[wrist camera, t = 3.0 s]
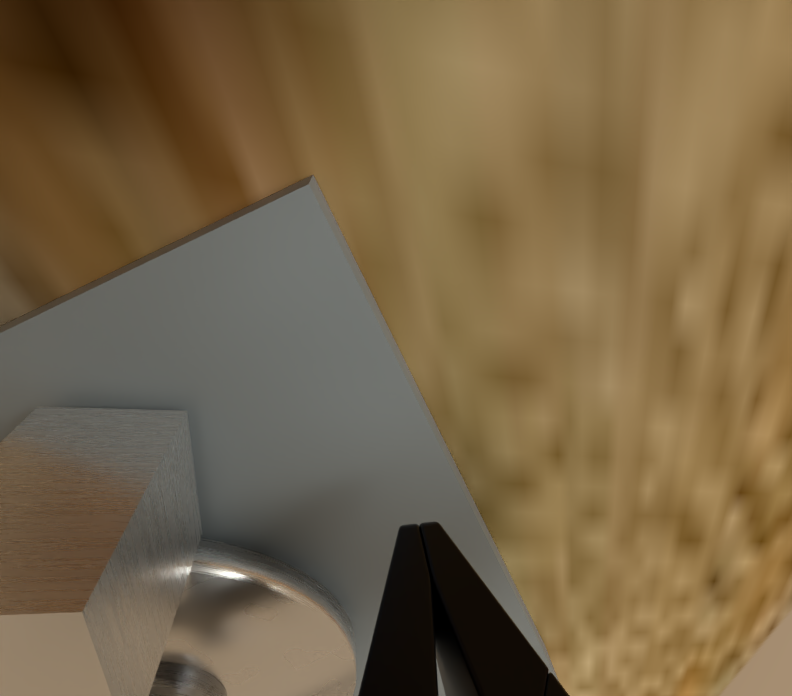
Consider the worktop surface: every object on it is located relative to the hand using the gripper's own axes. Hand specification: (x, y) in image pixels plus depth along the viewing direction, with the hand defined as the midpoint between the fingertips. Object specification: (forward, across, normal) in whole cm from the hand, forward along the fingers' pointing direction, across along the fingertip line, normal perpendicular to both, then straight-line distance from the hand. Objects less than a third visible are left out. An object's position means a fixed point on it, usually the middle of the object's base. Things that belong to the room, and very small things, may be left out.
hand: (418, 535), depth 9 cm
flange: (+2, +8, +6) cm, 10 cm away
